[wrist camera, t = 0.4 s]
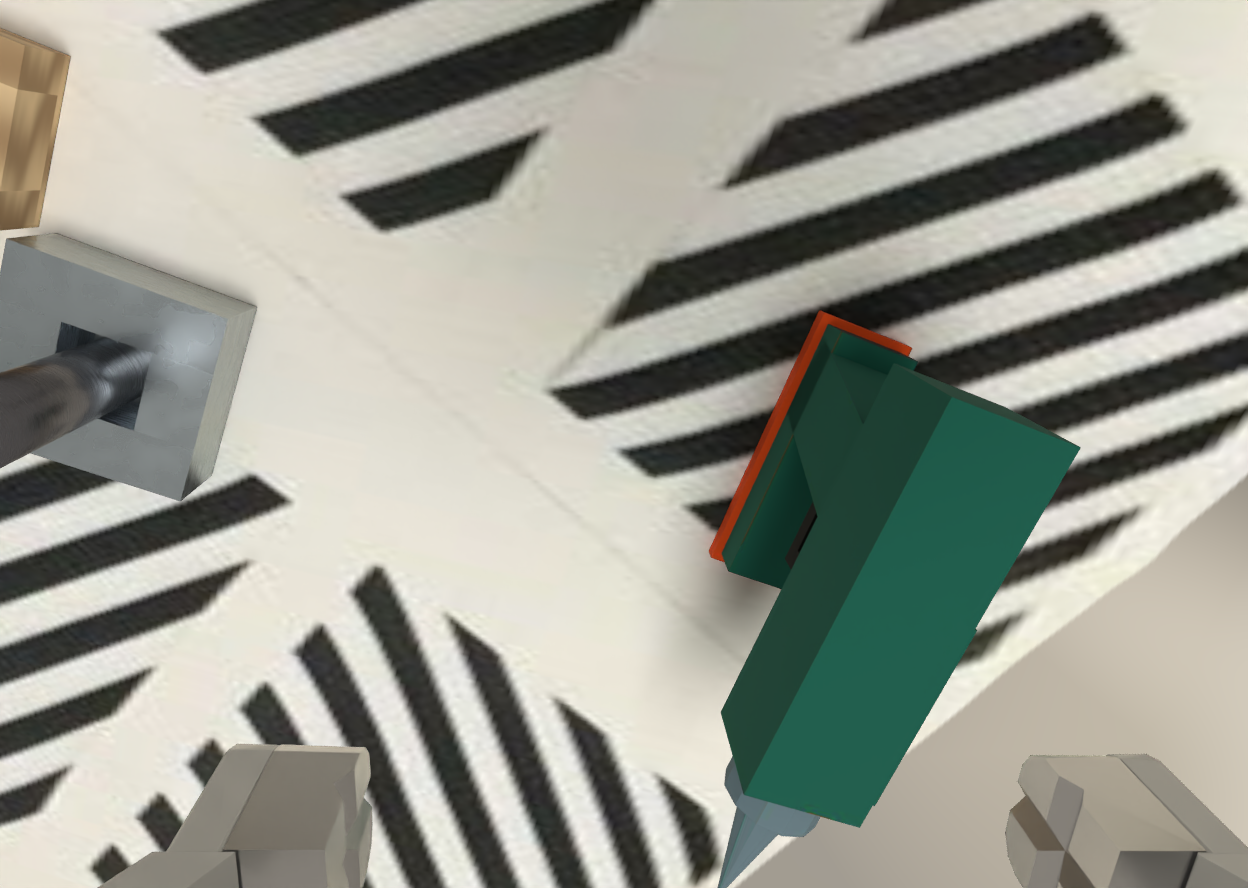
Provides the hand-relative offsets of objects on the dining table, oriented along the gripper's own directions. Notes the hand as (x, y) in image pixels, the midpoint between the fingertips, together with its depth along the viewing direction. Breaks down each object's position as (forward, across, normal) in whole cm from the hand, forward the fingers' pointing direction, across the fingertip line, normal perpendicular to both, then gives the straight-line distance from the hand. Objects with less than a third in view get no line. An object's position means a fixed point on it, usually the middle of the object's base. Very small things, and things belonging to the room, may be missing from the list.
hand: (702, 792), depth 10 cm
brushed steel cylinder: (+43, +29, +6) cm, 52 cm away
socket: (+44, +29, +6) cm, 53 cm away
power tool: (+44, -13, +17) cm, 49 cm away
